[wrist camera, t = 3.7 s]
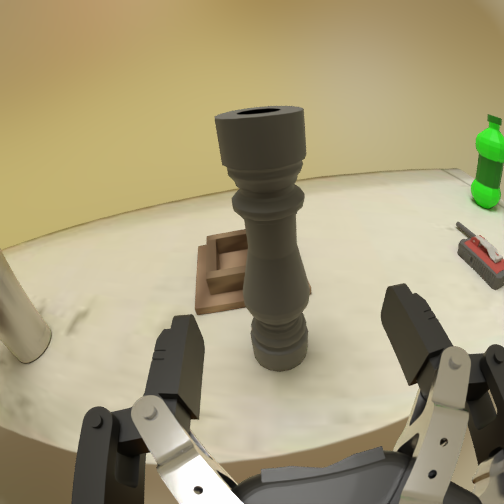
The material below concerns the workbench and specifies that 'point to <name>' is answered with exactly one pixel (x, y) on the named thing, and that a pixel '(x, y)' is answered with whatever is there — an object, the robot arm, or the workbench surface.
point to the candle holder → (270, 225)
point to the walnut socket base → (221, 272)
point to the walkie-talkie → (482, 258)
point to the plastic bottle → (489, 164)
